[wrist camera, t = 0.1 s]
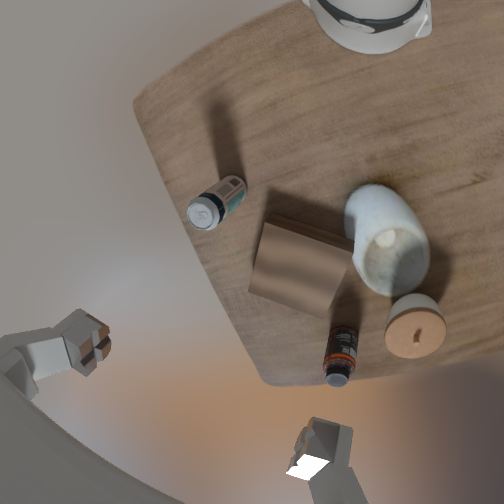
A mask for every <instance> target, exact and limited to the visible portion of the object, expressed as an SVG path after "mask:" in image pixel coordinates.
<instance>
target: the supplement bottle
mask: <svg viewBox="0 0 504 504" xmlns="http://www.w3.org/2000/svg"><path fill="white" fill-rule="evenodd" d="M357 346H358V335H357V333H356V332H355V331H354V330H353V329H351V328H348V327H338V328H336V329H334V330H332V331H331V333H330V335H329V338H328V343H327V348H326V353H325V358H324V363H323V371H324V373H325V374H326V382H327V383H328V384H329V385H330V386H334V387H342V386H344V385H346V384H347V382H348V378H349V377H350V376H351V375H352V374H353V373H354V371H355V365H356V356H357Z"/></svg>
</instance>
